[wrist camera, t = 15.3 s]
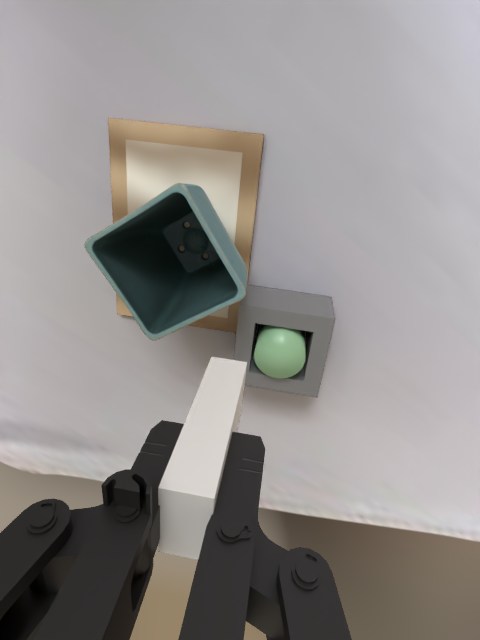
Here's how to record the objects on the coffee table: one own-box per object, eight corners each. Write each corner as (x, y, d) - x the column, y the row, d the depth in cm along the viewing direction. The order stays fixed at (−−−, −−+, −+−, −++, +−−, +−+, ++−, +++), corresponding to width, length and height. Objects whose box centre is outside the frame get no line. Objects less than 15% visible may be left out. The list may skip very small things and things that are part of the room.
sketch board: (111, 118, 32) (107, 117, 31) (264, 134, 31) (263, 134, 30) (119, 311, 40) (116, 314, 39) (242, 330, 39) (241, 334, 38)
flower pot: (183, 301, 37) (150, 344, 29) (131, 220, 35) (80, 243, 27) (261, 261, 35) (248, 297, 26) (212, 170, 32) (181, 179, 24)
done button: (262, 308, 36) (257, 330, 32) (308, 315, 36) (309, 338, 32) (257, 348, 38) (251, 374, 34) (301, 355, 38) (300, 382, 33)
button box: (247, 284, 36) (239, 304, 32) (331, 296, 36) (335, 318, 31) (239, 356, 40) (231, 383, 35) (315, 368, 39) (317, 397, 35)
